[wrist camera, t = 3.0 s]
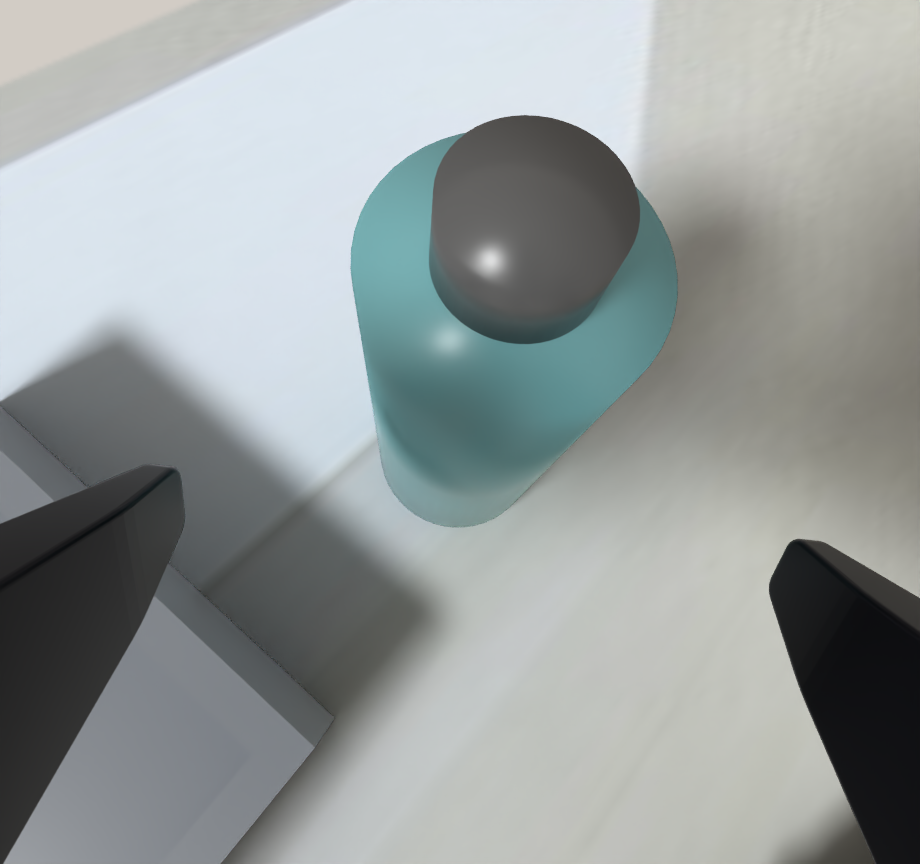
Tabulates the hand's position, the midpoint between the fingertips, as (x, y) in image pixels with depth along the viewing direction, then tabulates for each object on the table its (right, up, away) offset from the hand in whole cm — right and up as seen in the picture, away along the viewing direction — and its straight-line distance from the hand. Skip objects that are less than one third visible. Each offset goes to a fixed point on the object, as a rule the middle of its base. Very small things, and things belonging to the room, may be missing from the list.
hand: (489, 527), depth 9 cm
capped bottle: (-1, +1, +12) cm, 12 cm away
